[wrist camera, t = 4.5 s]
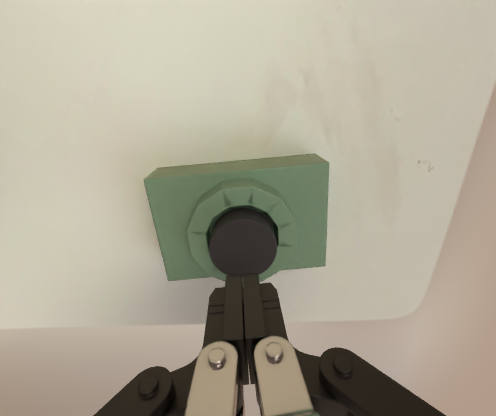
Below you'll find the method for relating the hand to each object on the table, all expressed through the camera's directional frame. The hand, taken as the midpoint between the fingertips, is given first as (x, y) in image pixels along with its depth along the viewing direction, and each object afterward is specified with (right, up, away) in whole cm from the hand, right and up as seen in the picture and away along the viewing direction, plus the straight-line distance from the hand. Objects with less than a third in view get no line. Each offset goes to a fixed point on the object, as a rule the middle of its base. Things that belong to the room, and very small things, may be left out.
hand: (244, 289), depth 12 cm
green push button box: (0, +4, +9) cm, 10 cm away
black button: (0, +2, +5) cm, 5 cm away
